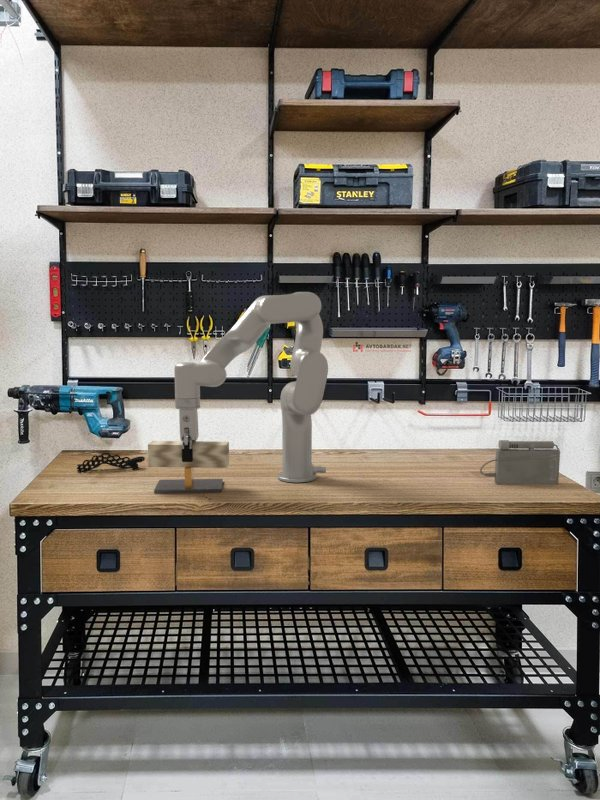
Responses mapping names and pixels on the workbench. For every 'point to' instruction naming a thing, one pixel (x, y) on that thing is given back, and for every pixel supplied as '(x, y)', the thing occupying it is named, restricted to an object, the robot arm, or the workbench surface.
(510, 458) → the geiger counter
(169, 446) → the maple bar
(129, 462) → the decorative element
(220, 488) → the stand
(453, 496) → the workbench surface
